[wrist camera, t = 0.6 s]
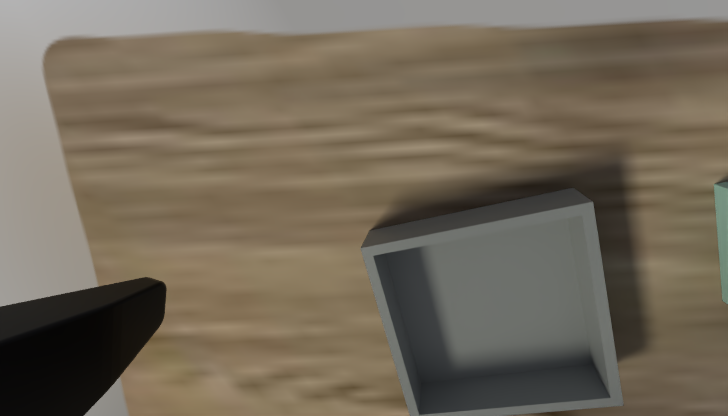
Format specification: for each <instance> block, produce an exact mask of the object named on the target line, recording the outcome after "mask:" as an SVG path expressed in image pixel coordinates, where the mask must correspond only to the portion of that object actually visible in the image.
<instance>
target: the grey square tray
mask: <svg viewBox="0 0 728 416" xmlns="http://www.w3.org/2000/svg"><path fill="white" fill-rule="evenodd" d="M361 252H362V255H363V258H364V262H365V265H366V269H367V272H368V275H369V279H370V282H371V285H372V289H373V292H374V296H375V299H376V302H377V306H378V309H379V313H380V316H381V319H382V323H383V326H384V329H385V333H386V336H387V340H388V343H389V346H390V350H391V353H392V356H393V360H394V363H395V367H396V370H397V373H398V377H399V380H400V384H401V387H402V390H403V394H404V397H405V400H406V404H407V407H408V411H409V414H410V416H506V415H518V414H530V413H541V412H553V411H565V410H577V409H589V408H601V407H613V406H624V405H623V398H622V391H621V385H620V378H619V371H618V365H617V358H616V351H615V345H614V338H613V331H612V325H611V318H610V311H609V305H608V298H607V291H606V285H605V278H604V271H603V265H602V258H601V251H600V245H599V238H598V231H597V225H596V218H595V211H594V205H593V201H591V200H590V199H589V198H587V197H586V196H584V195H583V194H582V193H580V192H579V191H577V190H576V189H574V188H569V189H564V190H560V191H555V192H550V193H546V194H541V195H536V196H531V197H527V198H522V199H517V200H512V201H508V202H503V203H498V204H493V205H489V206H484V207H479V208H474V209H470V210H465V211H460V212H455V213H451V214H446V215H441V216H436V217H432V218H427V219H422V220H418V221H413V222H408V223H403V224H399V225H394V226H389V227H384V228H380V229H375V230H370V231H369V233H368V235H367V237H366V239H365V241H364V242H363V244H362V246H361Z"/></svg>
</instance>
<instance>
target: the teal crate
mask: <svg viewBox="0 0 728 416" xmlns="http://www.w3.org/2000/svg"><path fill="white" fill-rule="evenodd" d="M714 191H715V205H716V219H717V233H718V247H719V260H720V274H721V288H722V301H724V302H725V303H726V304H728V182H723V183H718V184H714Z"/></svg>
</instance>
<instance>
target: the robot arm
mask: <svg viewBox="0 0 728 416" xmlns="http://www.w3.org/2000/svg"><path fill="white" fill-rule="evenodd" d="M165 302H166V285H165V283H164V282H162V281H159V280H155V279H152V278H149V277H144V278H139V279H134V280H129V281H124V282H119V283H114V284H109V285H104V286H100V287H95V288H90V289H85V290H80V291H75V292H70V293H65V294H61V295H56V296H50V297H46V298H41V299H36V300H31V301H27V302H21V303H16V304H12V305H6V306H2V307H0V416H84V415H85V414H86V412H88V410H89V409H90V408H91V407H92V406H93V405H94V404H95V403H96V402H97V401H98V400H99V399H100V398H101V397H102V396H103V395H104V394H105V393H106V392H107V391H108V389H109V388H110V387H111V386H112V385H113V384H114V383H115V382H116V380H117V379H118V378H119V377H120V376H121V374H122V373H123V372H124V371H125V369H126V368H127V367H128V366H129V364H130V363H131V362H132V361H133V359H134V358H135V357H136V356H137V354H138V353H139V352H140V351H141V349H142V348H143V347H144V346H145V344H146V343H147V342H148V341H149V339H150V338H151V337H152V336H153V334H154V333H155V332H156V331H157V329H158V328H159V327H160V325H161V323H162V321H163V319H164V314H165Z"/></svg>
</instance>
